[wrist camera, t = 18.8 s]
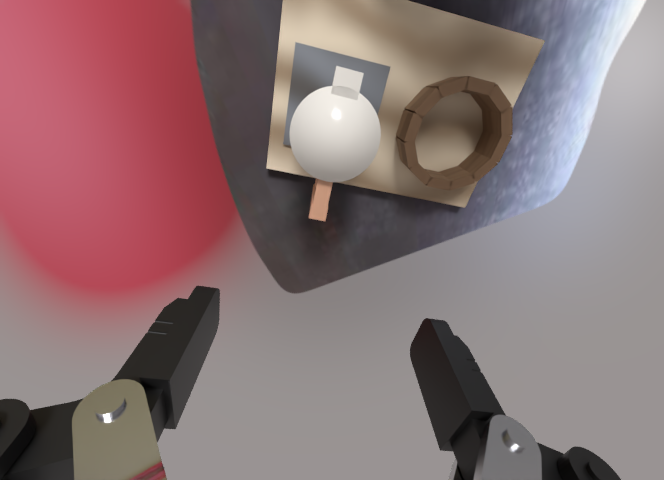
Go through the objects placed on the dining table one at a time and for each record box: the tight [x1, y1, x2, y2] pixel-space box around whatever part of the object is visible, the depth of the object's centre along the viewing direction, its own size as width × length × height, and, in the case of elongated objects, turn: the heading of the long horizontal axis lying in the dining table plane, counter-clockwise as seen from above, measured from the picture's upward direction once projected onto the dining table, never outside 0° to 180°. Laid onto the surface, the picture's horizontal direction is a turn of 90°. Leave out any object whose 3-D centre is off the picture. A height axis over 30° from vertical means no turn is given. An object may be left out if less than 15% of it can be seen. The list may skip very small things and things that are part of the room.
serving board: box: [267, 0, 545, 208], centre depth 27 cm, size 17×24×5 cm
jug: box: [290, 66, 381, 221], centre depth 24 cm, size 11×6×10 cm, turn 167°
